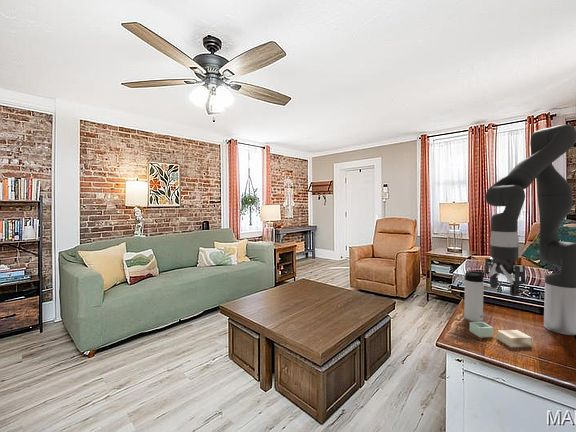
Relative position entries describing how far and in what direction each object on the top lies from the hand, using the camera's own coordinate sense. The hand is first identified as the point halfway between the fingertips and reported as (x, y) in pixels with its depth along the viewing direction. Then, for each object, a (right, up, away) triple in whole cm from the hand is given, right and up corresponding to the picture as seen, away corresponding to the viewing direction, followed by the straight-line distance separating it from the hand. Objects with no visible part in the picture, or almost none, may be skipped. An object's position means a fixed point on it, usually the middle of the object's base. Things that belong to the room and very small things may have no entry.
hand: (503, 291), depth 94 cm
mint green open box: (-4, -18, +5) cm, 19 cm away
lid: (+3, -17, -1) cm, 17 cm away
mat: (+3, -18, -1) cm, 18 cm away
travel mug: (+2, -17, +18) cm, 25 cm away
